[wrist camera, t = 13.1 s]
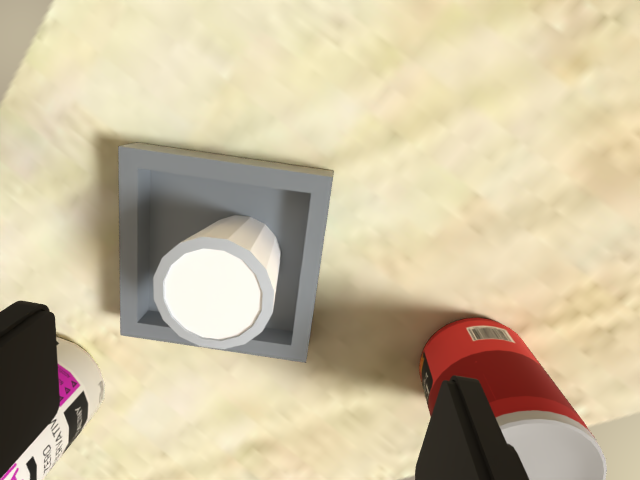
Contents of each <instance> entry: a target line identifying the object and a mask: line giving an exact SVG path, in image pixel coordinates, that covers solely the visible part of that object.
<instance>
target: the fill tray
mask: <svg viewBox="0 0 640 480" xmlns="http://www.w3.org/2000/svg"><path fill="white" fill-rule="evenodd" d="M118 150H119V242H120V333H121V335H123V336H130V337H137V338H143V339H150V340H157V341H164V342H170V343H177V344H184V345H190V346H197V347H200V346H198V345H196V344H194V343H192V342H190V341H188V340H186V339H184V338H182V337H180V336H179V335H178V334H177V333H176V332H175V331H174V330H173V329H172V328H171V327H170V326H169V325H168V324H167V323H166V322H165V321H164V320H163V319H162V316H161V314H160V312H159V310H158V308H157V305H156V303H155V301H154V286H153V277H154V275H155V273H156V270H157V268H158V266H159V264H160V261H161V259H162V257H163V256H165V255H166V254H167V253H168V252H169V251H171V250H172V249H173V248H174V247H175V246H177V245H178V244H179V243H180V242H182V241H184V240H186V239H187V238H189V237H191V236H192V235H194V234H196V233H198V232H199V231H201V230H203V229H205V228H206V227H208V226H210V225H211V224H213V223H215V222H217V221H218V220H220V219H223V218H227V217H230V216H234V215H239V216H248V217H252V218H254V219H256V220H258V221H260V222H262V223H264V224H265V225H266V226H267V227H268V228H269V229H270V230H271V232H272V233H273V234H274V235H275V236H276V239H277V242H278V244H279V247H280V250H281V253H280V266H279V273H278V280H277V286H276V293H275V300H274V307H273V313H272V315H271V317H270V319H269V321H268V322H267V324H266V326H265V328H264V329H263V331H262V332H261V333H260V334H258V335H257V336H255V337H254V338H253V339H251V340H250V341H249V342H247V343H246V344H243V345H239V346H235V347H231V348H227V349H217V350H224V351H231V352H238V353H244V354H251V355H258V356H265V357H271V358H278V359H285V360H291V361H298V362H305V363H306V359H307V352H308V345H309V338H310V331H311V325H312V318H313V311H314V304H315V297H316V290H317V283H318V277H319V270H320V263H321V256H322V249H323V242H324V235H325V229H326V222H327V215H328V208H329V201H330V194H331V187H332V181H333V174H334V171H332V170H325V169H318V168H311V167H304V166H297V165H290V164H283V163H276V162H269V161H262V160H256V159H249V158H242V157H235V156H228V155H221V154H214V153H207V152H200V151H193V150H186V149H179V148H172V147H166V146H159V145H152V144H145V143H138V142H136V143H131V144H126V145H122V146H118ZM204 348H208V347H204ZM211 349H216V348H211Z"/></svg>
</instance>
